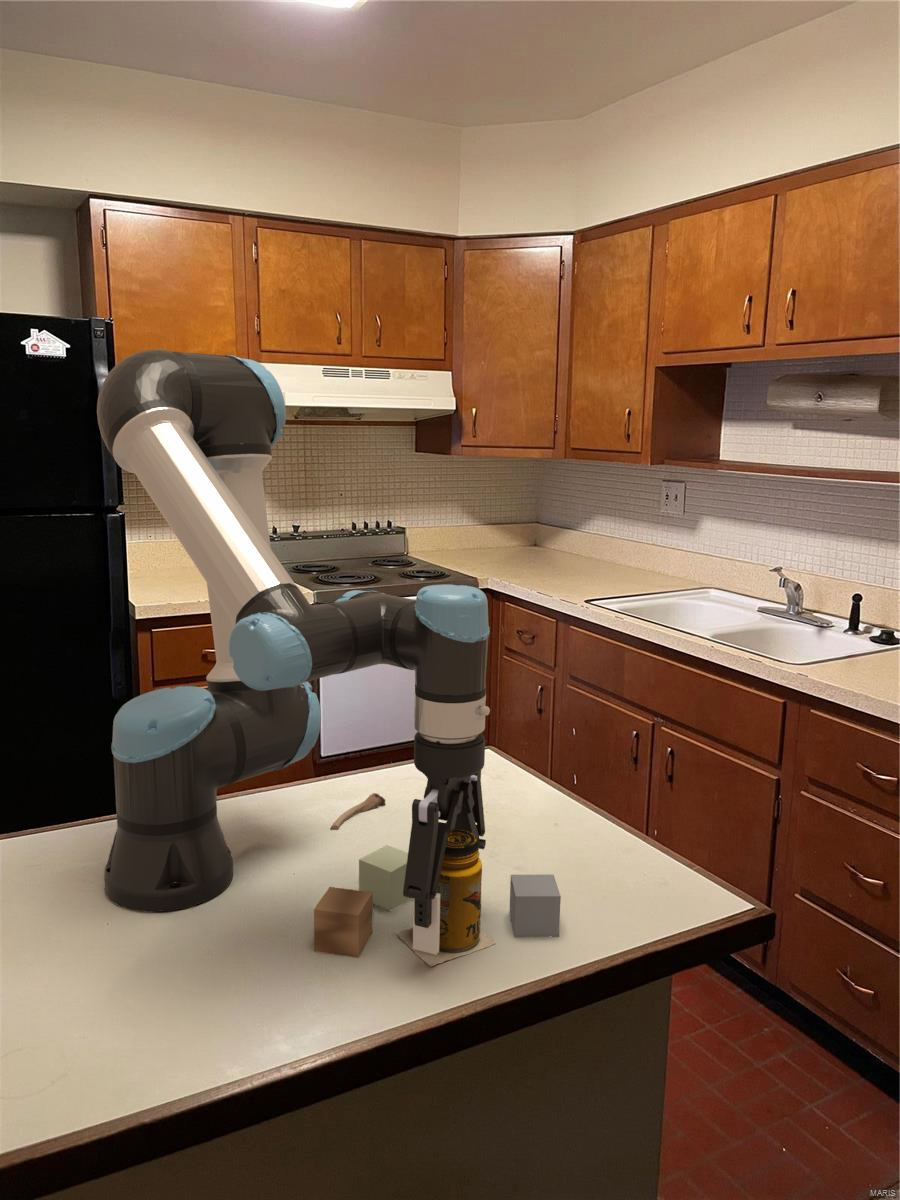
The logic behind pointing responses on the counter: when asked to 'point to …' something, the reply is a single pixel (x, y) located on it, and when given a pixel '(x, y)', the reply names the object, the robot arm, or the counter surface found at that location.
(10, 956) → the counter surface
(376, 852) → the sage cube
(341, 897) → the walnut cube
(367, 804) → the bone
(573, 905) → the counter surface
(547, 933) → the slate cube
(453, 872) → the condiment
